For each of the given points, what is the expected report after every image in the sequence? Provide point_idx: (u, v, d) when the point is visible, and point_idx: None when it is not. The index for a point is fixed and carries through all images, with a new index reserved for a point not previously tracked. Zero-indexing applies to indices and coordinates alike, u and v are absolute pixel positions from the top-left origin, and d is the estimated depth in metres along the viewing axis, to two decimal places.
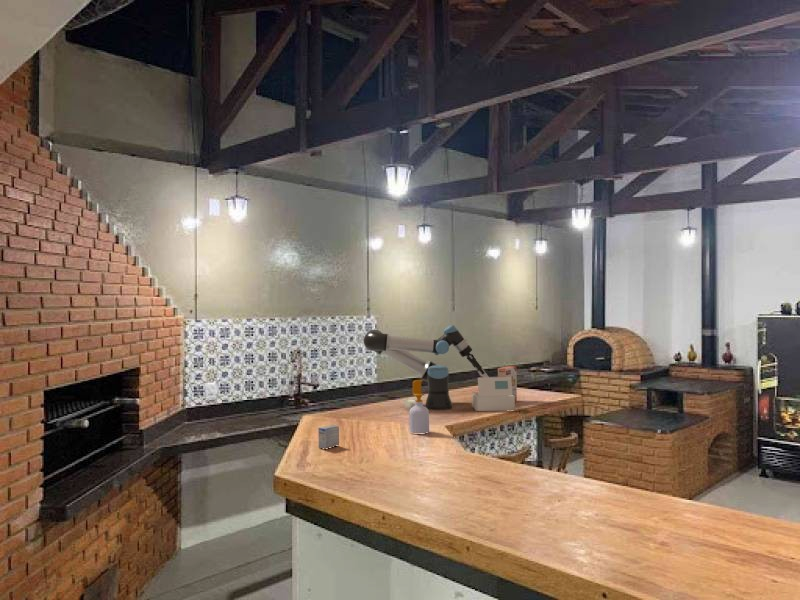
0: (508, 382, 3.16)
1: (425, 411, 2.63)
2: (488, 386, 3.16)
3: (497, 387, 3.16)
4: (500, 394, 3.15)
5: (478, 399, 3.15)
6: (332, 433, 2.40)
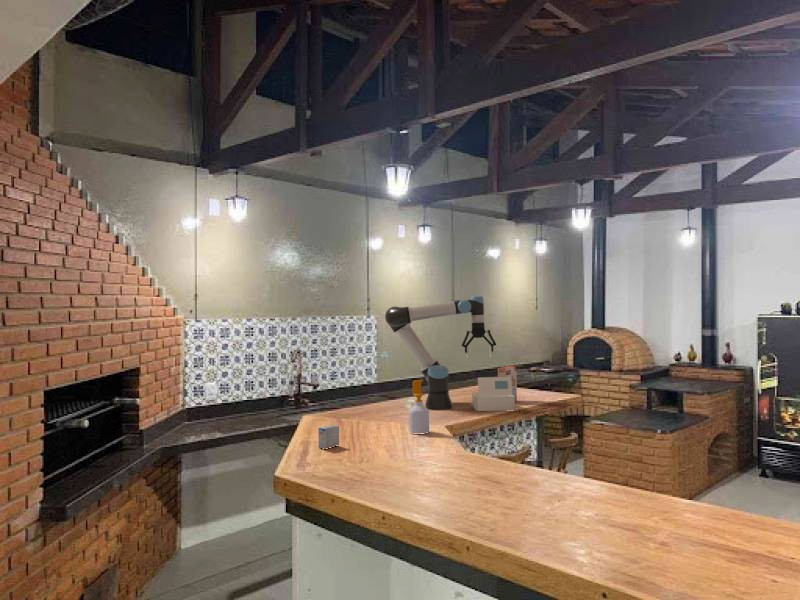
0: (508, 382, 3.16)
1: (425, 411, 2.63)
2: (488, 386, 3.16)
3: (497, 387, 3.16)
4: (500, 394, 3.15)
5: (478, 399, 3.15)
6: (332, 433, 2.40)
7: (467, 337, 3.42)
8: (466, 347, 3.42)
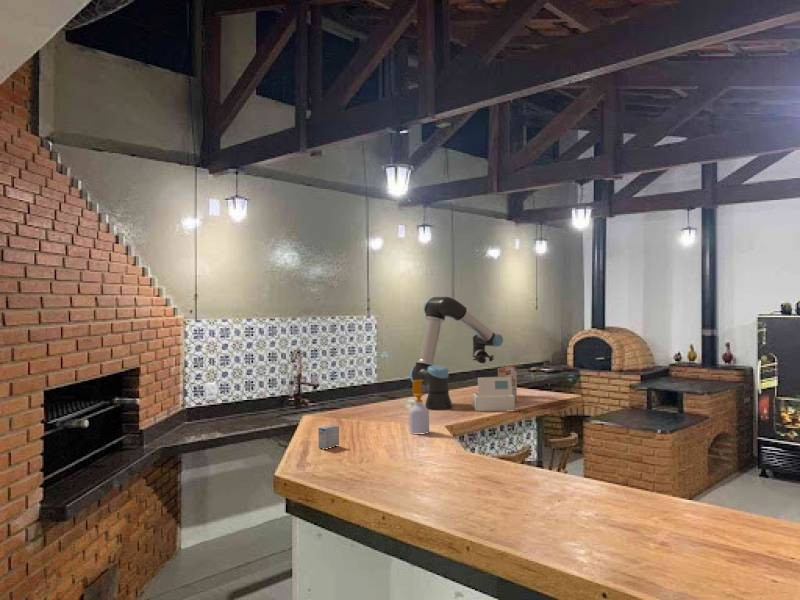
0: (508, 382, 3.16)
1: (425, 411, 2.63)
2: (488, 386, 3.16)
3: (497, 387, 3.16)
4: (500, 394, 3.15)
5: (478, 399, 3.15)
6: (332, 433, 2.40)
7: (477, 356, 3.46)
8: None
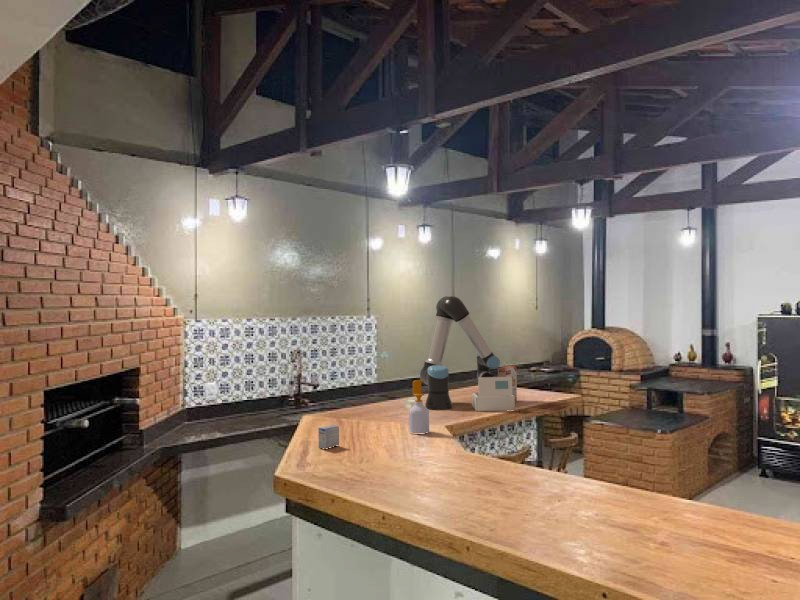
0: (508, 382, 3.15)
1: (425, 411, 2.63)
2: (488, 386, 3.15)
3: (497, 387, 3.15)
4: (500, 394, 3.15)
5: (478, 399, 3.15)
6: (332, 433, 2.40)
7: None
8: None
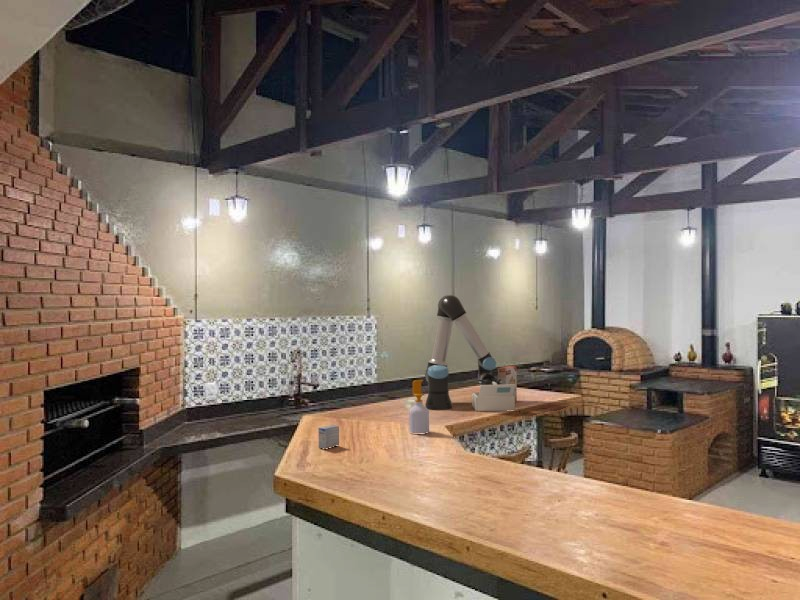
0: (510, 388, 3.09)
1: (425, 411, 2.63)
2: (490, 391, 3.11)
3: (498, 391, 3.11)
4: (500, 395, 3.14)
5: (478, 399, 3.15)
6: (332, 433, 2.40)
7: (484, 380, 3.23)
8: None
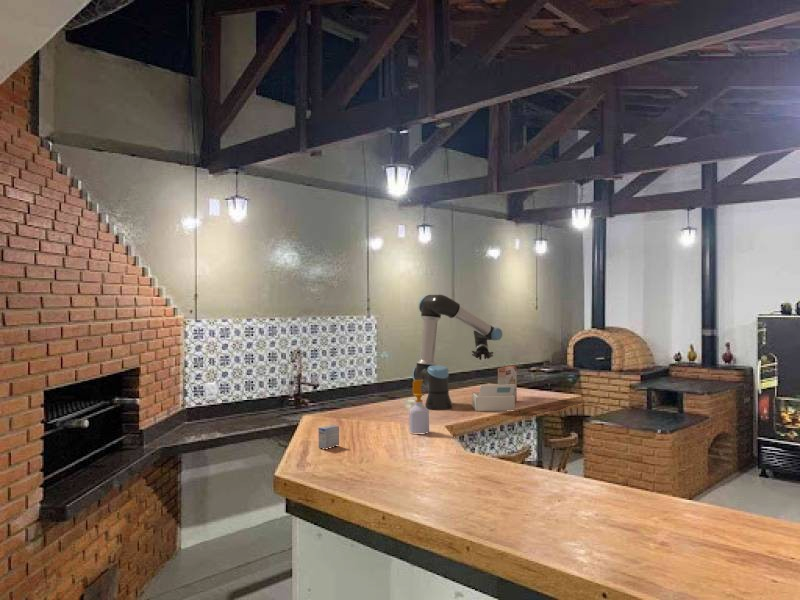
0: (510, 388, 3.09)
1: (425, 411, 2.63)
2: (490, 391, 3.11)
3: (498, 391, 3.11)
4: (500, 395, 3.14)
5: (478, 399, 3.15)
6: (332, 433, 2.40)
7: (475, 352, 3.41)
8: None
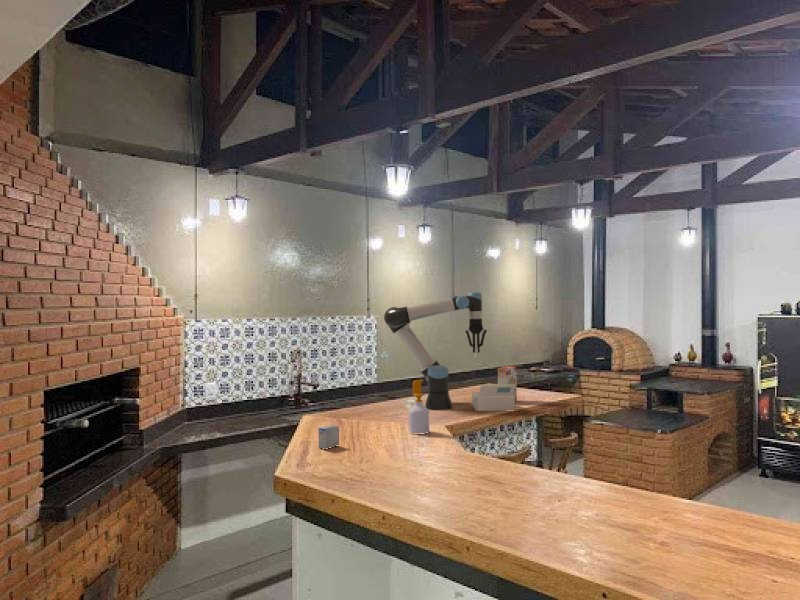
0: (510, 388, 3.09)
1: (425, 411, 2.63)
2: (490, 391, 3.11)
3: (498, 391, 3.11)
4: (500, 395, 3.14)
5: (478, 399, 3.15)
6: (332, 433, 2.40)
7: (469, 336, 3.42)
8: (474, 347, 3.42)
